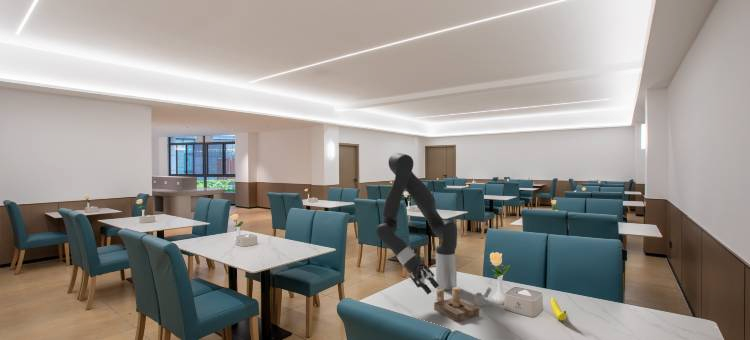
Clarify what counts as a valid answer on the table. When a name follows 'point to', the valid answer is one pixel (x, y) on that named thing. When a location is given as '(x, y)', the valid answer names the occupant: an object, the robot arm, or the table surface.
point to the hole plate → (456, 310)
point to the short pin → (440, 294)
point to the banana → (558, 310)
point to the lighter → (481, 297)
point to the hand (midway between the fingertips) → (433, 289)
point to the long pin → (456, 297)
